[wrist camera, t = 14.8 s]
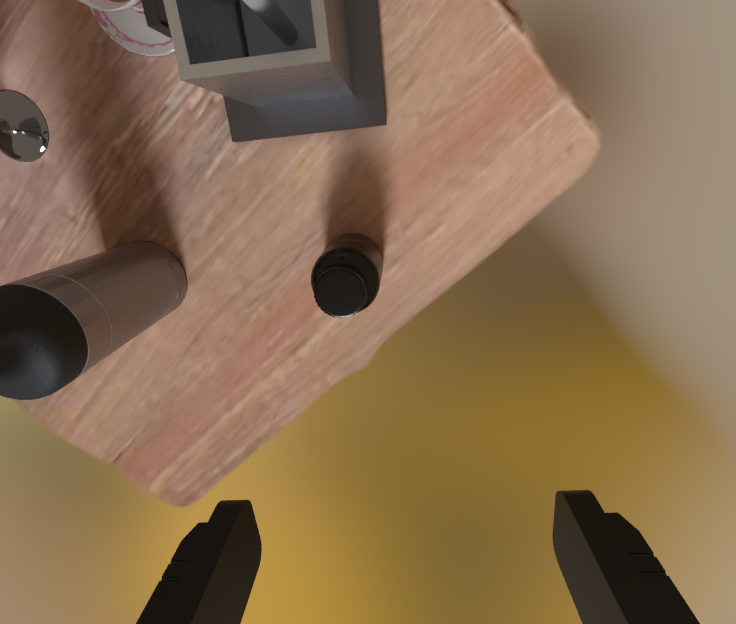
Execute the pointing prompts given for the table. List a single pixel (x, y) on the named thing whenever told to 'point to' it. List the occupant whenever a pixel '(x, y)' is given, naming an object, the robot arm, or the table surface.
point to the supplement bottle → (347, 275)
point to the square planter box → (280, 67)
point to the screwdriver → (277, 25)
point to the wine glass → (21, 127)
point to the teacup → (129, 26)
